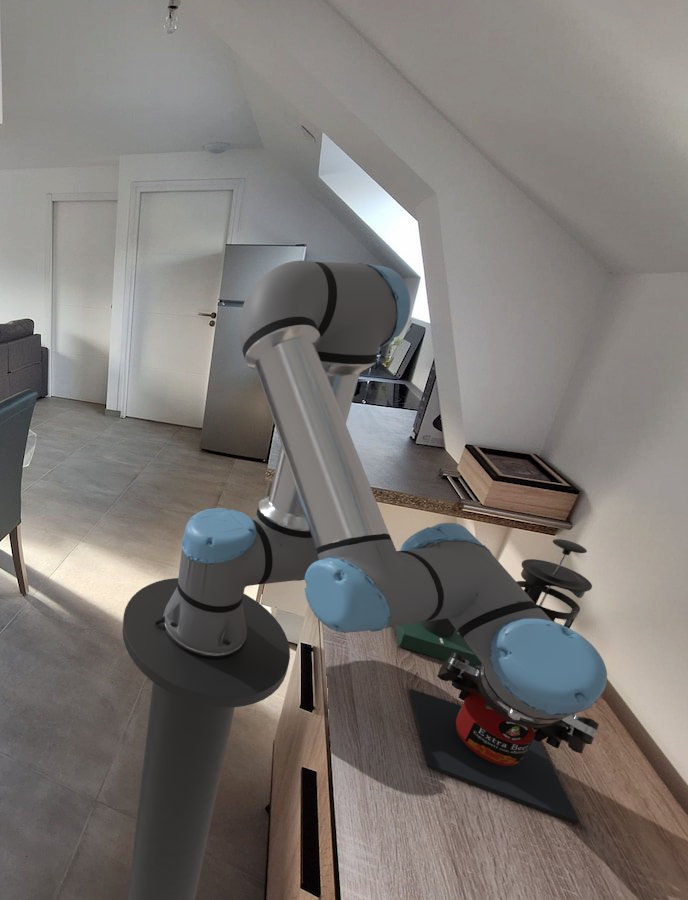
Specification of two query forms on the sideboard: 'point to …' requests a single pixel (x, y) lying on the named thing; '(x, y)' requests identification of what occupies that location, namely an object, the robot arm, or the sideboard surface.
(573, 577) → the french press
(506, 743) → the canned food
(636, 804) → the sideboard surface
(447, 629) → the knob
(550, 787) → the mat
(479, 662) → the panel
